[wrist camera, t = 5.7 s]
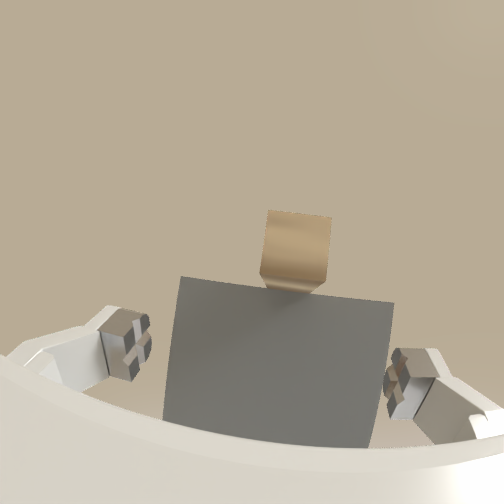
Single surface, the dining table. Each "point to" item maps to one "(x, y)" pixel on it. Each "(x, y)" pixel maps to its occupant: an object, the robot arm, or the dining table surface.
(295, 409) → the stand
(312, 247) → the wooden bar
